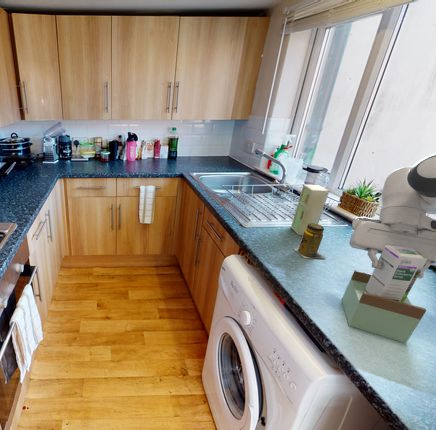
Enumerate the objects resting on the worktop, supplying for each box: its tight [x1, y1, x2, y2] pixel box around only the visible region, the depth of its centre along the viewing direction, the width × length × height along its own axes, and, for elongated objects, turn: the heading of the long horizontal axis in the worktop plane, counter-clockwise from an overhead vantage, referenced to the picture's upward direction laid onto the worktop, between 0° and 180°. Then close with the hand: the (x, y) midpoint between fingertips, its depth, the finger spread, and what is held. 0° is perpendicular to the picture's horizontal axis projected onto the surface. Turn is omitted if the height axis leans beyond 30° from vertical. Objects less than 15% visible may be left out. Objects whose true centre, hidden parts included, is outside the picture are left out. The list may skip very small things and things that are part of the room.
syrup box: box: [365, 245, 427, 303], centre depth 74 cm, size 6×6×14 cm
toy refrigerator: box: [290, 184, 330, 236], centre depth 124 cm, size 8×7×21 cm
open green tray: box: [341, 269, 427, 344], centre depth 78 cm, size 12×12×11 cm
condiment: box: [293, 223, 326, 259], centre depth 109 cm, size 7×8×12 cm
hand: (396, 272), depth 73 cm, fingers closed on syrup box, 7 cm apart
